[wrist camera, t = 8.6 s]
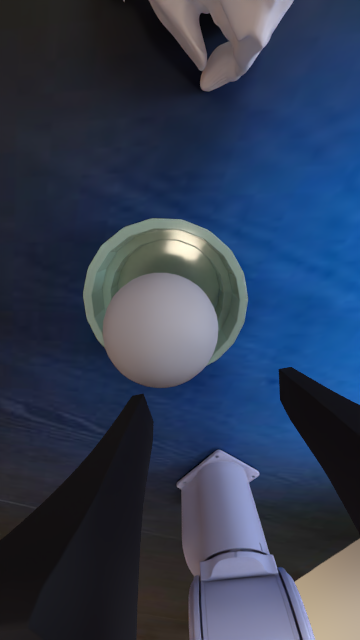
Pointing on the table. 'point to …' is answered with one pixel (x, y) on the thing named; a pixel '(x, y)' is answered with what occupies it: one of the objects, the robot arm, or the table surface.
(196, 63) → the white crouching figurine
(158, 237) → the bowl
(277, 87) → the table surface
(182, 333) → the lightbulb
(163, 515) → the table surface
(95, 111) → the table surface
